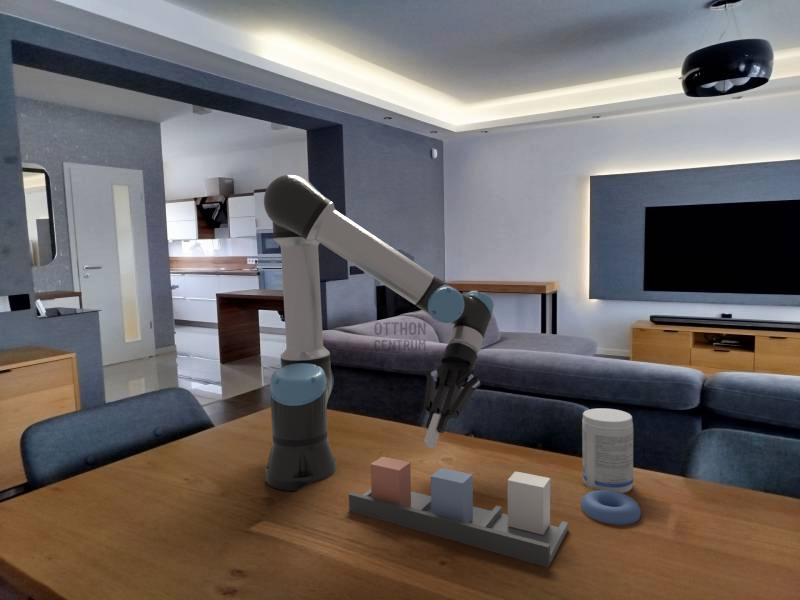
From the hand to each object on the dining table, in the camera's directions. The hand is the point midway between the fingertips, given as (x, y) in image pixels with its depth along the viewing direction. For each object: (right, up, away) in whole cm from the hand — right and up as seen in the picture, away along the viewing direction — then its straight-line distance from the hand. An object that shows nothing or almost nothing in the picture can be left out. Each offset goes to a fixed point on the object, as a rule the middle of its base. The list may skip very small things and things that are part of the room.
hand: (429, 444), depth 110 cm
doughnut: (+31, -9, -15) cm, 36 cm away
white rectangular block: (+16, -8, -20) cm, 27 cm away
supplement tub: (+36, -8, -2) cm, 37 cm away
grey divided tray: (+3, -10, -17) cm, 20 cm away
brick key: (-8, -8, -12) cm, 17 cm away
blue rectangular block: (+3, -8, -18) cm, 20 cm away
